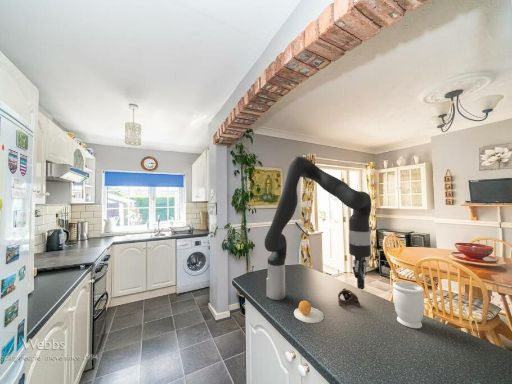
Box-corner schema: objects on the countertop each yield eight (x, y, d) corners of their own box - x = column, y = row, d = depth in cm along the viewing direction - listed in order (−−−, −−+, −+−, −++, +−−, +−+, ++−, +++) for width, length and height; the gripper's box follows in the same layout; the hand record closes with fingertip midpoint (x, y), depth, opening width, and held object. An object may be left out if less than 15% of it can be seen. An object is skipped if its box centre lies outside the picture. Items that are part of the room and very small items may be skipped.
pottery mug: (365, 311, 94) (358, 297, 93) (346, 319, 96) (339, 305, 94) (354, 293, 106) (347, 281, 105) (337, 300, 107) (330, 288, 106)
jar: (416, 333, 78) (415, 293, 78) (388, 319, 87) (387, 283, 88) (430, 325, 82) (428, 287, 83) (402, 313, 92) (401, 279, 92)
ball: (306, 306, 88) (305, 318, 88) (314, 303, 91) (312, 314, 92) (296, 299, 92) (295, 311, 93) (304, 296, 96) (303, 308, 96)
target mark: (290, 318, 88) (290, 318, 88) (297, 304, 100) (297, 304, 100) (321, 326, 83) (321, 325, 83) (325, 310, 94) (325, 310, 94)
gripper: (353, 239, 87) (354, 280, 86) (344, 244, 76) (345, 291, 76) (373, 241, 82) (375, 285, 81) (366, 246, 72) (368, 297, 71)
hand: (361, 288), depth 78 cm, fingers closed
